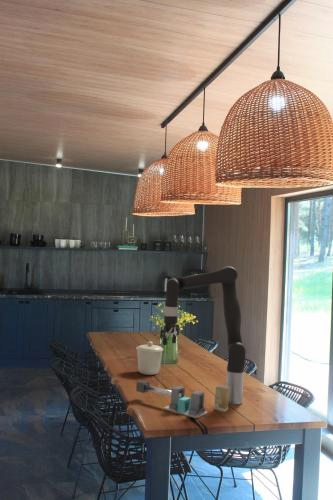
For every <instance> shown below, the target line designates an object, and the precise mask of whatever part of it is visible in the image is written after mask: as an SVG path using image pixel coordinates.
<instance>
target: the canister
mask: <svg viewBox="0 0 333 500" xmlns="http://www.w3.org/2000/svg"><path fill="white" fill-rule="evenodd" d="M153 343H154V342H153V341H150V340H149V341H147V344H141V345H138V346H136V348H135V349H136V354H137V368H138V372H139V373H140V374H141V375H147V376H153V375H157V374H158V373H159V371H160V368H161V363H162V358H163V357H162V355H163V351H164V348H163V347H162V346H160V345H155V344H153Z"/></svg>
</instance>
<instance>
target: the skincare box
mask: <svg viewBox="0 0 333 500" xmlns="http://www.w3.org/2000/svg"><path fill="white" fill-rule="evenodd" d="M229 390H230V387H226V385H222V384H219V385H216V386H215V395H214V408H213V409H214V410H216V411H219V412H224V413H225V412H227V411H228V410H229V403H228V402H229Z"/></svg>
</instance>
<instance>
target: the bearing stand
mask: <svg viewBox="0 0 333 500" xmlns="http://www.w3.org/2000/svg"><path fill="white" fill-rule="evenodd" d="M171 391H172V393H171V396H170V403H169V404H168V405H166V406H163V408H162V409H163V410H165V411H168V412H172V413H175V414H179V415H182V416H186V417H190V418H193V419H197V418H200V417H202V416H205V415H206V414H207V415H208V411H206V407H205V392H204V391H203V390H202V391H201V390H196V391H193V392H191V394H190V398H191V405H190V409H186V408H185V411H180V410H177V405H178V399H179V393H182V397H185V391H186V387H185V386H180V385H177V386H175V387H171Z"/></svg>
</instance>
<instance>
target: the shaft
mask: <svg viewBox="0 0 333 500" xmlns="http://www.w3.org/2000/svg"><path fill="white" fill-rule="evenodd" d="M150 384H151V383H150V381H148V380H147V381H146V380H143V379H142V380H139V381H136V388H135V389H136V391H135V392H137V393H138V392H139V393H142V394H144V393H149V392H152V393H156V394H159V395H163V396H166V397H171V393H172V390H169V389H165V388H162V387H157V386H152V385H150ZM179 398H182V393H179Z"/></svg>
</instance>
